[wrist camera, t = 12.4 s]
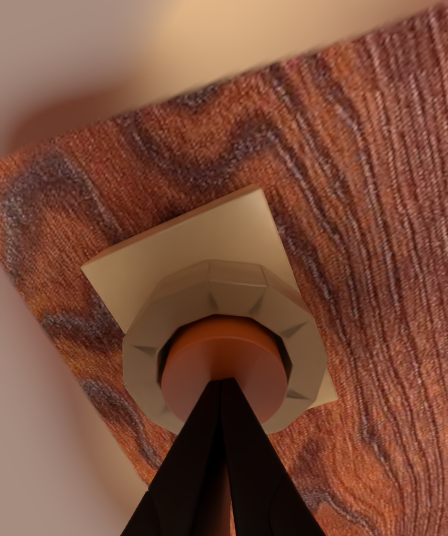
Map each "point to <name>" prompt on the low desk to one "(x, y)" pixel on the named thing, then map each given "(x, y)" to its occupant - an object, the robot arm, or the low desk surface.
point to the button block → (210, 298)
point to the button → (224, 364)
